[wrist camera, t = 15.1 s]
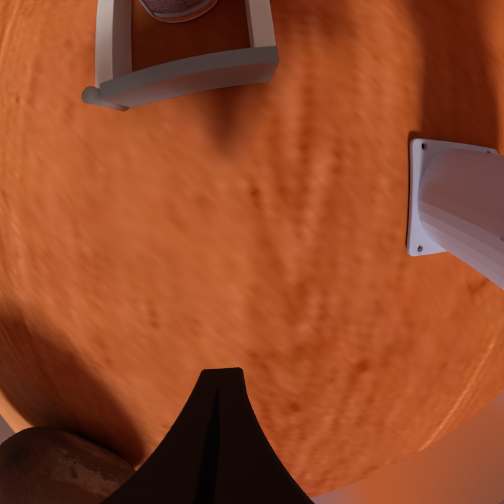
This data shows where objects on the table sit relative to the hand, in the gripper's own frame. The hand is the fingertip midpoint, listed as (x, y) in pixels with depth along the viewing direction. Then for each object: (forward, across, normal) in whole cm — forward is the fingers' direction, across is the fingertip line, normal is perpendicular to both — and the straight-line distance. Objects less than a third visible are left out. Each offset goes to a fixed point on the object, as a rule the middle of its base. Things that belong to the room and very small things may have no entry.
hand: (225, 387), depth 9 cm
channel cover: (+9, +1, -11) cm, 15 cm away
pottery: (+10, +24, +26) cm, 37 cm away
